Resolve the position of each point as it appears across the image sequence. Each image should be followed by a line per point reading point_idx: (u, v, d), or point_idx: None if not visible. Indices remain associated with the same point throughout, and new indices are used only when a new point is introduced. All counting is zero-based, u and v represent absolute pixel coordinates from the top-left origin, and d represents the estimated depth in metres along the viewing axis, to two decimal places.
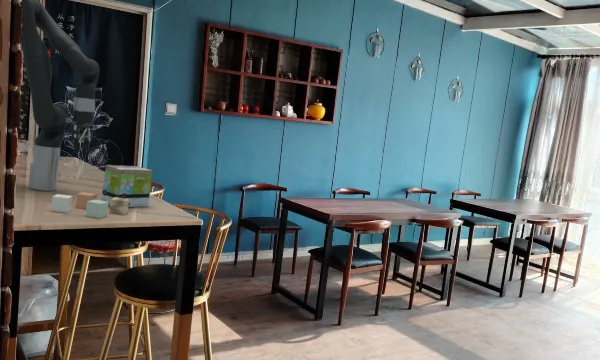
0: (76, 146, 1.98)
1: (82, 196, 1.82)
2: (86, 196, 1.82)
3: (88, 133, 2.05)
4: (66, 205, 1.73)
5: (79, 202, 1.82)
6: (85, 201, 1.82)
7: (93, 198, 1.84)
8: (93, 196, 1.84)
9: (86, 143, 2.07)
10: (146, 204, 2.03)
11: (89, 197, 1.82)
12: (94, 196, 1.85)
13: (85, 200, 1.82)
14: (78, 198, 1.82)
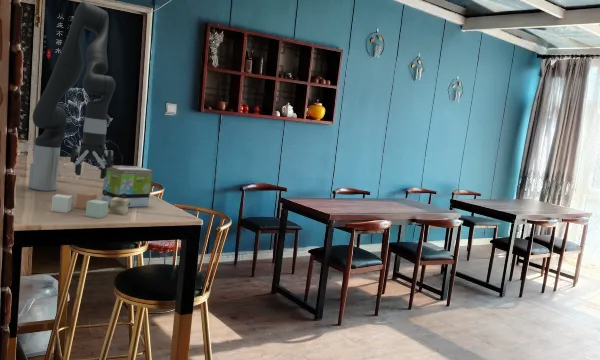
0: (106, 172, 1.84)
1: (82, 196, 1.82)
2: (86, 196, 1.82)
3: None
4: (66, 205, 1.73)
5: (79, 202, 1.82)
6: (85, 201, 1.82)
7: (93, 198, 1.84)
8: (93, 196, 1.84)
9: (80, 167, 1.84)
10: (146, 204, 2.03)
11: (89, 197, 1.82)
12: (94, 196, 1.85)
13: (85, 200, 1.82)
14: (78, 198, 1.82)
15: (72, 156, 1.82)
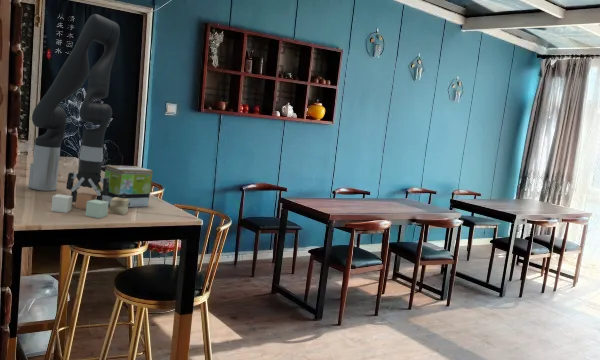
0: (101, 199, 1.85)
1: (82, 196, 1.82)
2: (86, 196, 1.82)
3: None
4: (66, 205, 1.73)
5: (79, 202, 1.82)
6: (85, 201, 1.82)
7: (93, 198, 1.84)
8: (93, 196, 1.84)
9: (76, 193, 1.85)
10: (146, 204, 2.03)
11: (89, 197, 1.82)
12: (94, 196, 1.85)
13: (85, 200, 1.82)
14: (78, 198, 1.82)
15: (68, 183, 1.83)
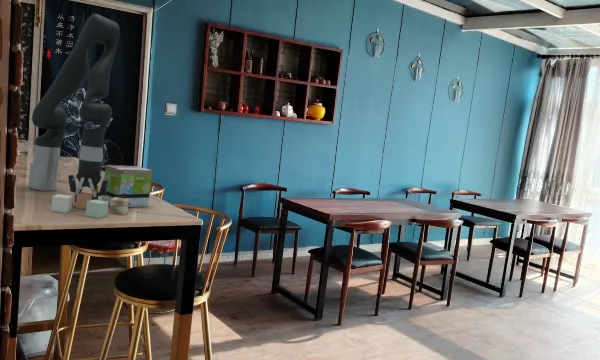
0: None
1: (82, 196, 1.82)
2: (86, 196, 1.82)
3: None
4: (66, 205, 1.73)
5: (79, 202, 1.82)
6: (85, 201, 1.82)
7: None
8: None
9: None
10: (146, 204, 2.03)
11: (89, 197, 1.82)
12: None
13: (85, 200, 1.82)
14: (78, 198, 1.82)
15: (71, 186, 1.83)
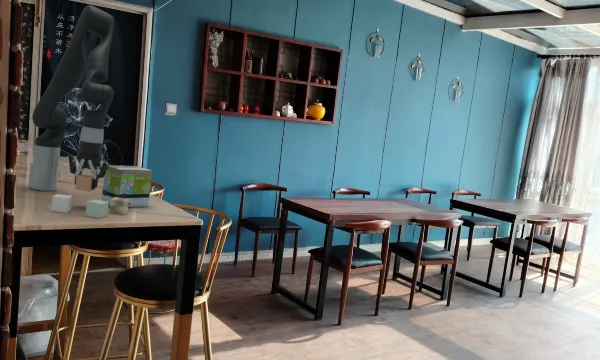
0: (97, 183, 1.84)
1: (82, 177, 1.81)
2: (86, 178, 1.81)
3: None
4: (66, 205, 1.73)
5: (79, 184, 1.81)
6: (85, 183, 1.81)
7: None
8: None
9: None
10: (146, 204, 2.03)
11: (89, 179, 1.81)
12: None
13: (85, 182, 1.81)
14: (78, 179, 1.81)
15: (71, 167, 1.82)
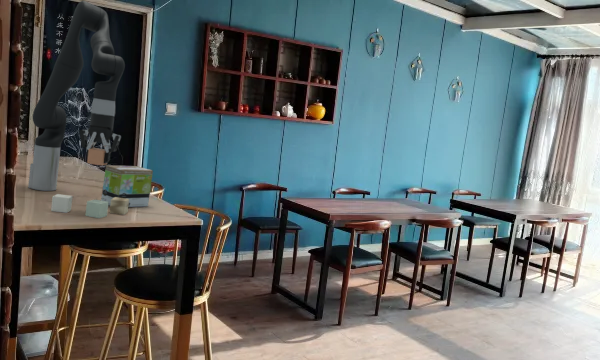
0: (109, 157, 1.79)
1: (94, 151, 1.76)
2: (98, 151, 1.76)
3: None
4: (66, 205, 1.73)
5: (91, 158, 1.76)
6: (97, 156, 1.76)
7: None
8: None
9: None
10: (146, 204, 2.03)
11: (101, 152, 1.76)
12: None
13: (97, 155, 1.76)
14: (90, 153, 1.76)
15: (82, 141, 1.77)
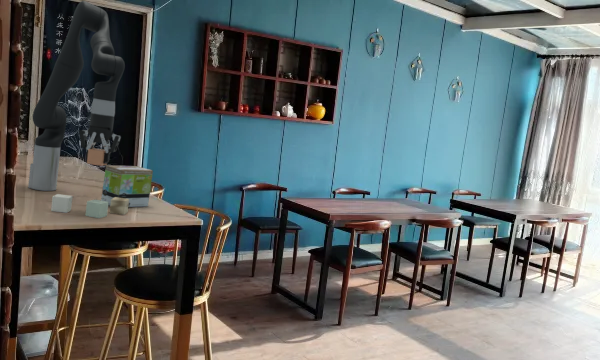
0: (109, 157, 1.79)
1: (94, 151, 1.76)
2: (98, 151, 1.76)
3: None
4: (66, 205, 1.73)
5: (90, 158, 1.76)
6: (97, 157, 1.76)
7: None
8: None
9: None
10: (146, 204, 2.03)
11: (101, 152, 1.76)
12: None
13: (97, 156, 1.76)
14: (89, 153, 1.76)
15: (82, 141, 1.77)
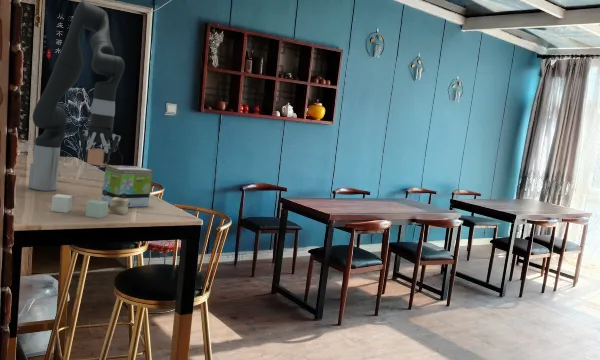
0: (109, 157, 1.79)
1: (94, 151, 1.76)
2: (98, 151, 1.76)
3: None
4: (66, 205, 1.73)
5: (90, 158, 1.76)
6: (97, 157, 1.76)
7: None
8: None
9: None
10: (146, 204, 2.03)
11: (101, 152, 1.76)
12: None
13: (97, 156, 1.76)
14: (89, 153, 1.76)
15: (82, 141, 1.77)
